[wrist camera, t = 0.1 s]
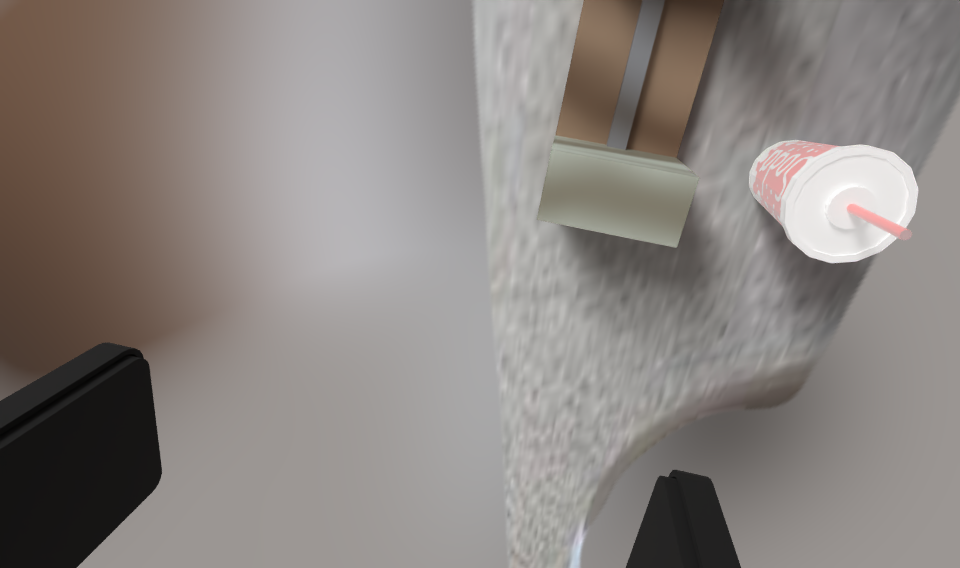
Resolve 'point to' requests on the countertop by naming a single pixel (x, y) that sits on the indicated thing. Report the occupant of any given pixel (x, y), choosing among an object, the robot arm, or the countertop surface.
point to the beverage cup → (836, 197)
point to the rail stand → (629, 119)
